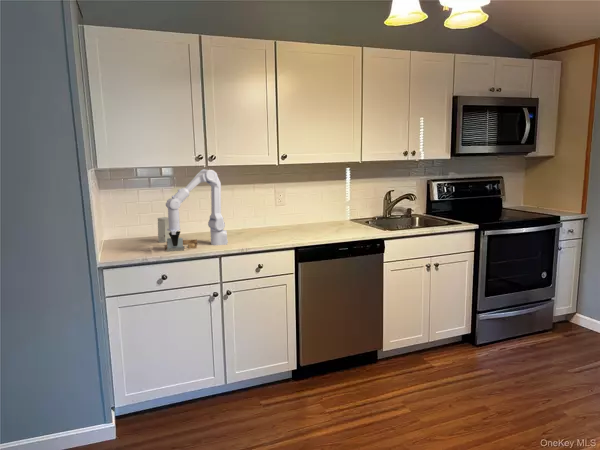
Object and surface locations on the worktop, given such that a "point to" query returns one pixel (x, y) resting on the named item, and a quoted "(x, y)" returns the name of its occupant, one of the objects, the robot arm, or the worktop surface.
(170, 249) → the holder
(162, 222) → the skincare box
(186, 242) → the wooden tray
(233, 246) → the worktop surface
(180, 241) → the grey flat block
